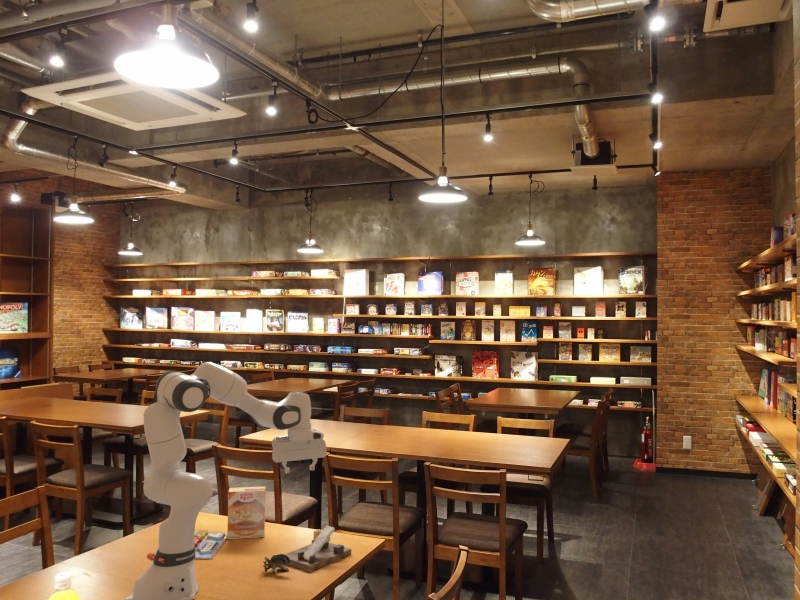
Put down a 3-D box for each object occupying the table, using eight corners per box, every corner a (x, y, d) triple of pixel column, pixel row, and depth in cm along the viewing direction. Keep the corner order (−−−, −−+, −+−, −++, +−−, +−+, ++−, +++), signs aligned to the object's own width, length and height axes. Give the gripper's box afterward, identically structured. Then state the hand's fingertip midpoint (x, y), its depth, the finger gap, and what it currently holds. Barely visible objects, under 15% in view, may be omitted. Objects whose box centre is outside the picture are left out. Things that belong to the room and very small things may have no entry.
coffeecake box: (227, 540, 255) (227, 491, 256) (228, 534, 262) (229, 487, 263) (264, 538, 258) (265, 490, 259) (264, 532, 265) (265, 485, 266)
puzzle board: (212, 561, 234) (212, 554, 234) (149, 561, 233) (150, 554, 234) (231, 534, 265) (231, 527, 265) (176, 534, 264) (176, 528, 264)
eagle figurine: (267, 575, 217) (292, 567, 220) (262, 554, 220) (287, 546, 224) (265, 580, 223) (290, 572, 226) (260, 560, 226) (285, 552, 230)
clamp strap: (310, 562, 227) (308, 560, 227) (302, 559, 229) (301, 557, 229) (335, 529, 238) (334, 527, 238) (327, 527, 240) (326, 525, 240)
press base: (310, 572, 223) (310, 559, 223) (279, 561, 232) (279, 549, 233) (351, 554, 241) (351, 542, 241) (320, 545, 250) (321, 534, 250)
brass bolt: (324, 543, 239) (324, 534, 240) (313, 540, 243) (313, 531, 243) (330, 541, 242) (330, 532, 242) (318, 537, 245) (319, 529, 246)
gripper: (273, 438, 228) (274, 476, 228) (327, 433, 237) (328, 470, 237) (270, 435, 234) (270, 472, 234) (322, 430, 242) (323, 466, 242)
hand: (299, 471), depth 235 cm, fingers open, 8 cm apart
